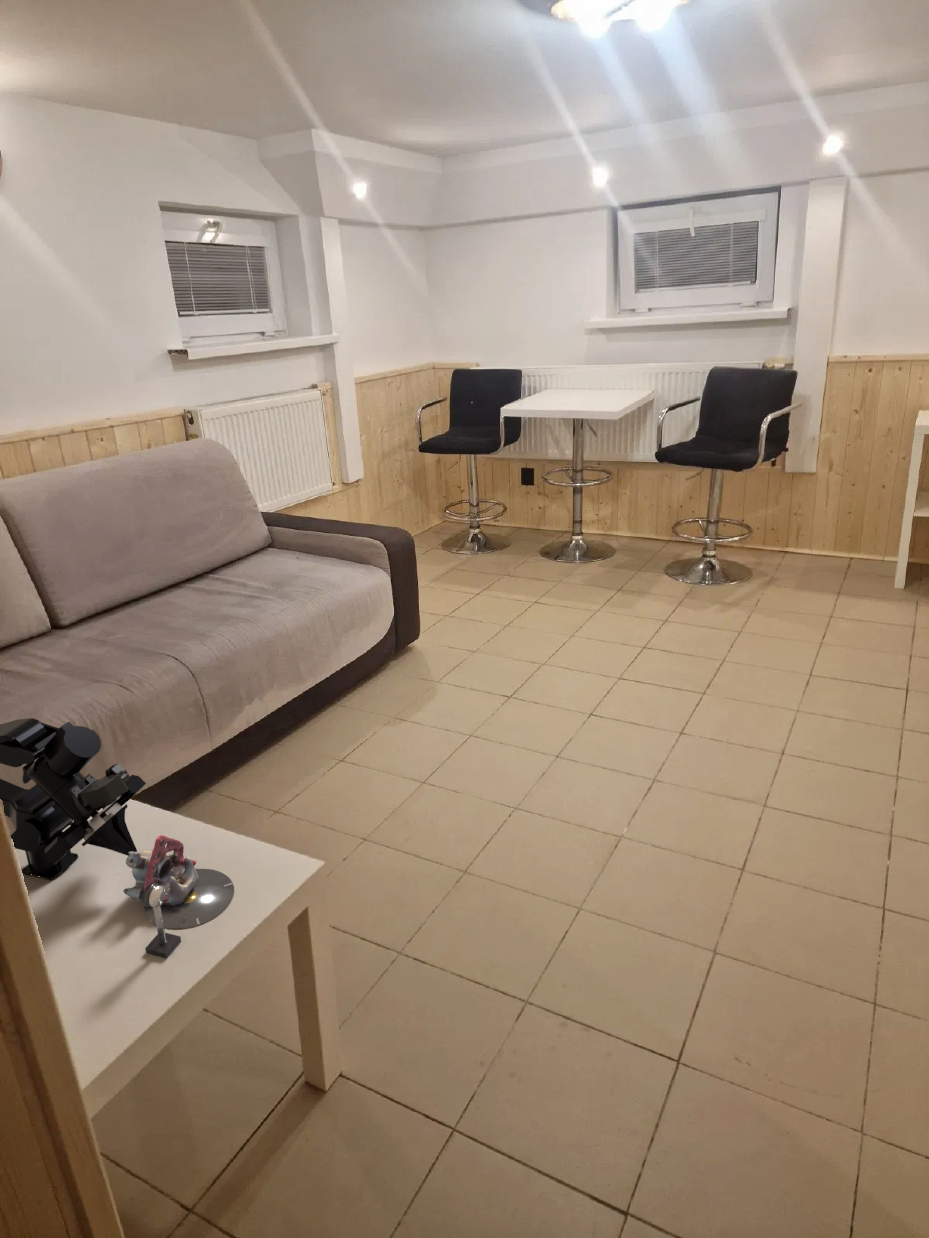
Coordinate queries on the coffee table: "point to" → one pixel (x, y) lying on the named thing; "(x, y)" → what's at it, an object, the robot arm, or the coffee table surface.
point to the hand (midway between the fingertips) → (134, 854)
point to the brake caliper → (162, 871)
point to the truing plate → (198, 902)
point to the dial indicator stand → (159, 923)
